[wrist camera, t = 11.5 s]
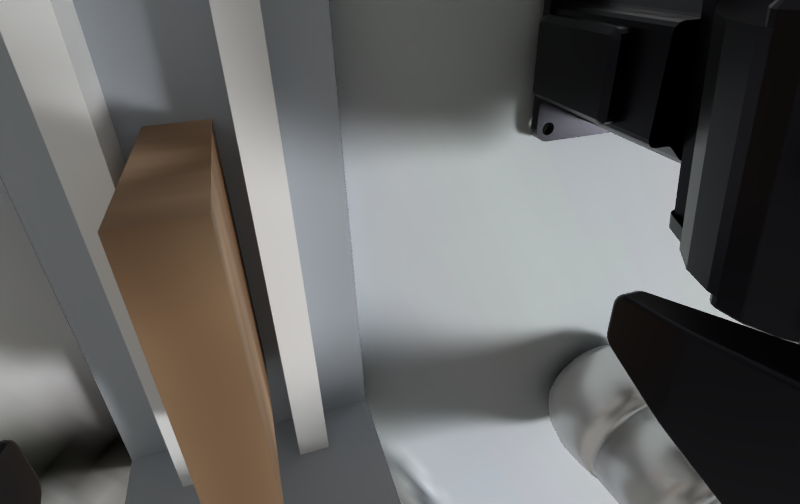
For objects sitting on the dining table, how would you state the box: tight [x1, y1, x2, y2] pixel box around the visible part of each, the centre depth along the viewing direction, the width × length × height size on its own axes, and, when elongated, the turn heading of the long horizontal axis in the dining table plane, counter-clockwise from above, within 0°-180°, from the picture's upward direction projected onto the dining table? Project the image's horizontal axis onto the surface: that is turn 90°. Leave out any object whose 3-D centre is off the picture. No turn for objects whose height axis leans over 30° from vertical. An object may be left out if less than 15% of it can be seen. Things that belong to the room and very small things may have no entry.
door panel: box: [97, 119, 284, 504], centre depth 15 cm, size 2×10×7 cm, turn 2°
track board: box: [0, 0, 401, 504], centre depth 16 cm, size 10×20×8 cm, turn 2°
